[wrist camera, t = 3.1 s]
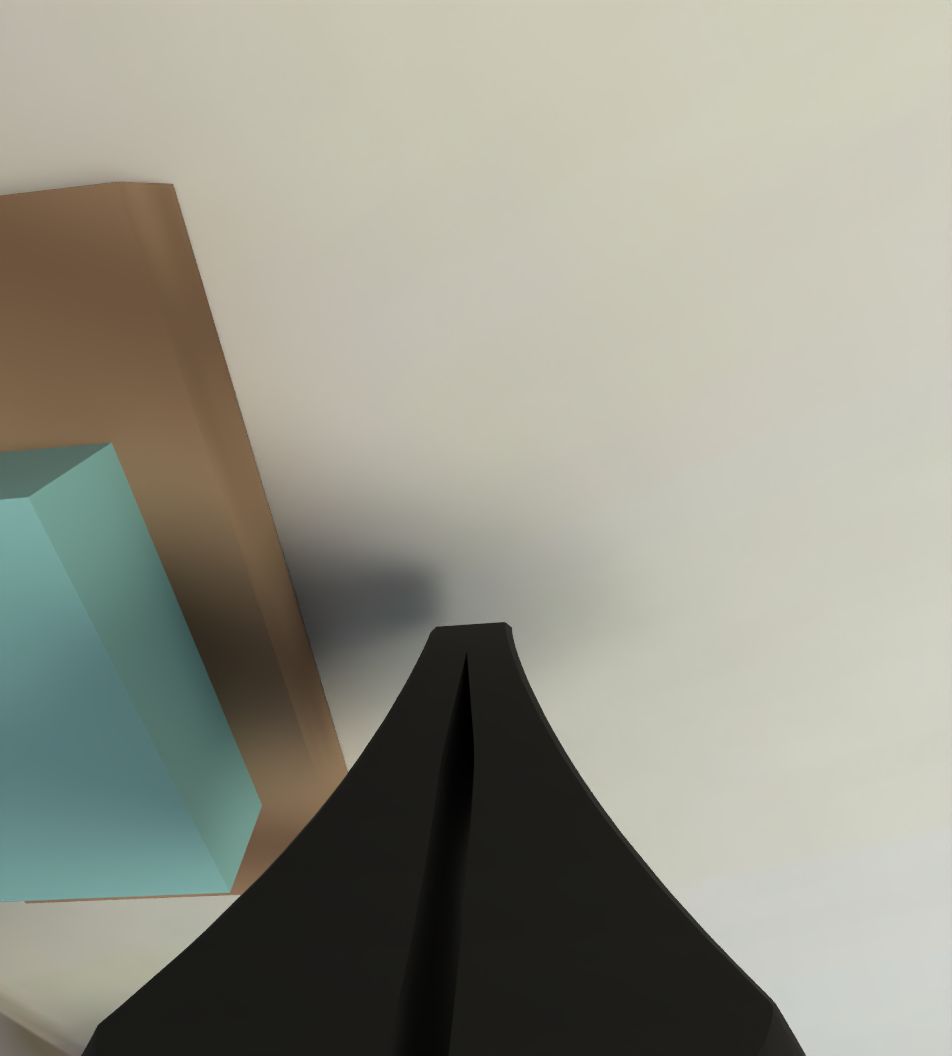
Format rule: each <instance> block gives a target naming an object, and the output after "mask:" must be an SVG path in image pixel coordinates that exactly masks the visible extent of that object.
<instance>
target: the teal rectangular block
mask: <svg viewBox="0 0 952 1056" xmlns="http://www.w3.org/2000/svg"><path fill="white" fill-rule="evenodd" d="M261 807H262V804H261V801H260V799H259V796H258V794H257V792H256V789H255V787H254V784H253V782H252V780H251V777H250V775H249V772H248V770H247V768H246V765H245V763H244V760H243V758H242V756H241V753H240V751H239V748H238V746H237V743H236V741H235V739H234V736H233V734H232V731H231V729H230V727H229V724H228V722H227V719H226V717H225V715H224V712H223V710H222V707H221V705H220V703H219V700H218V698H217V695H216V693H215V690H214V688H213V686H212V683H211V681H210V678H209V676H208V674H207V671H206V669H205V666H204V664H203V662H202V659H201V657H200V654H199V652H198V650H197V647H196V645H195V642H194V640H193V637H192V635H191V633H190V630H189V628H188V625H187V623H186V621H185V618H184V616H183V613H182V611H181V609H180V606H179V604H178V601H177V599H176V597H175V594H174V592H173V589H172V587H171V585H170V582H169V580H168V577H167V575H166V572H165V570H164V568H163V565H162V563H161V560H160V558H159V556H158V553H157V551H156V548H155V546H154V544H153V541H152V539H151V536H150V534H149V532H148V529H147V527H146V524H145V522H144V519H143V517H142V515H141V512H140V510H139V507H138V505H137V503H136V500H135V498H134V495H133V493H132V491H131V488H130V486H129V483H128V481H127V479H126V476H125V474H124V471H123V469H122V466H121V464H120V462H119V459H118V457H117V454H116V452H115V450H114V447H113V445H112V443H101V444H90V445H79V446H68V447H56V448H45V449H34V450H23V451H12V452H1V453H0V902H11V901H36V900H61V899H86V898H111V897H136V896H160V895H185V894H210V893H230V891H231V888H232V886H233V883H234V880H235V878H236V875H237V872H238V870H239V867H240V864H241V861H242V859H243V856H244V853H245V851H246V848H247V845H248V843H249V840H250V837H251V834H252V832H253V829H254V826H255V824H256V821H257V818H258V815H259V813H260V810H261Z"/></svg>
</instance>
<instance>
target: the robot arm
mask: <svg viewBox="0 0 952 1056" xmlns="http://www.w3.org/2000/svg"><path fill="white" fill-rule="evenodd" d="M81 1056H806V1055H805V1053H804V1051H803V1049H802V1048H801V1046H800V1044H799V1042H798V1041H797V1039H796V1037H795V1036H794V1034H793V1032H792V1030H791V1029H790V1027H789V1025H788V1024H787V1022H786V1020H785V1018H784V1017H783V1015H782V1013H781V1012H780V1010H779V1008H778V1007H777V1005H776V1004H775V1003H774V1001H773V1000H772V999H771V998H770V997H769V996H768V995H767V994H766V993H765V992H764V991H763V990H762V989H761V988H760V987H759V986H758V985H757V984H756V983H755V982H754V981H753V980H752V979H751V978H750V977H749V976H748V975H747V974H746V973H745V972H744V971H743V970H742V969H741V968H740V967H739V966H738V965H737V964H736V963H735V962H734V961H733V960H732V959H731V958H730V957H729V955H728V954H727V953H726V952H725V951H724V950H723V949H722V948H721V947H720V946H719V945H718V944H717V943H716V942H715V941H714V940H713V939H712V938H711V937H710V936H709V935H708V934H707V932H706V931H705V930H704V929H703V928H702V927H701V926H700V925H699V924H698V923H697V921H696V920H695V919H694V918H693V917H692V916H691V915H690V914H689V913H688V911H687V910H686V909H685V908H684V907H683V906H682V905H681V904H680V903H679V901H678V900H677V899H676V898H675V897H674V896H673V895H672V894H671V893H670V891H669V890H668V889H667V888H666V887H665V886H664V884H663V883H662V882H661V881H660V879H659V878H658V877H657V876H656V875H655V873H654V872H653V871H652V870H651V868H650V867H649V866H648V865H647V864H646V862H645V861H644V860H643V859H642V858H641V856H640V855H639V854H638V853H637V851H636V850H635V849H634V848H633V847H632V845H631V844H630V843H629V842H628V840H627V839H626V838H625V837H624V836H623V834H622V833H621V832H620V830H619V829H618V828H617V826H616V825H615V824H614V822H613V821H612V820H611V818H610V817H609V816H608V814H607V813H606V811H605V810H604V809H603V807H602V806H601V805H600V803H599V802H598V801H597V799H596V798H595V796H594V795H593V793H592V792H591V790H590V789H589V787H588V786H587V785H586V783H585V782H584V780H583V779H582V777H581V776H580V774H579V773H578V771H577V769H576V768H575V766H574V765H573V763H572V762H571V760H570V758H569V757H568V755H567V753H566V752H565V750H564V748H563V747H562V745H561V743H560V742H559V740H558V738H557V736H556V735H555V733H554V731H553V730H552V728H551V726H550V724H549V722H548V720H547V718H546V717H545V715H544V713H543V711H542V709H541V707H540V705H539V703H538V701H537V699H536V697H535V695H534V692H533V690H532V688H531V686H530V684H529V682H528V679H527V677H526V675H525V672H524V670H523V667H522V665H521V662H520V660H519V657H518V654H517V651H516V647H515V644H514V640H513V635H512V627H511V626H509V625H508V624H507V623H505V622H501V623H486V624H471V625H456V626H441V627H436V628H435V629H434V630H433V631H432V632H431V633H430V635H429V638H428V640H427V642H426V645H425V647H424V649H423V651H422V653H421V655H420V657H419V659H418V661H417V663H416V665H415V667H414V669H413V671H412V673H411V674H410V676H409V678H408V680H407V682H406V684H405V685H404V687H403V689H402V691H401V692H400V694H399V696H398V697H397V699H396V701H395V703H394V704H393V706H392V708H391V709H390V711H389V713H388V714H387V716H386V718H385V719H384V721H383V722H382V724H381V726H380V727H379V729H378V730H377V731H376V733H375V734H374V736H373V737H372V739H371V740H370V742H369V743H368V745H367V746H366V748H365V749H364V751H363V752H362V754H361V755H360V757H359V758H358V760H357V761H356V763H355V764H354V765H353V767H352V768H351V769H350V771H349V772H348V774H347V775H346V776H345V778H344V779H343V780H342V782H341V783H340V784H339V786H338V787H337V788H336V789H335V791H334V792H333V793H332V795H331V796H330V797H329V798H328V800H327V801H326V802H325V803H324V805H323V806H322V807H321V808H320V810H319V811H318V812H317V813H316V814H315V816H314V817H313V818H312V819H311V820H310V821H309V823H308V824H307V825H306V826H305V827H304V828H303V829H302V831H301V832H300V833H299V834H298V835H297V836H296V838H295V839H294V840H293V841H292V842H291V843H290V844H289V846H288V847H287V848H286V849H285V850H284V851H283V852H282V853H281V855H280V856H279V857H278V858H277V859H276V860H275V861H274V862H273V863H272V864H271V865H270V866H269V868H268V869H267V870H266V871H265V872H264V873H263V874H262V875H261V876H260V877H259V878H258V879H257V880H256V881H255V882H254V883H253V884H252V885H251V886H250V887H249V888H248V889H247V890H246V891H245V892H244V893H243V894H242V895H241V896H240V897H239V898H238V899H237V900H236V901H235V902H234V903H233V904H232V905H231V906H230V907H229V908H228V909H227V910H226V911H225V912H224V913H223V914H222V915H221V916H220V917H219V918H218V919H217V920H216V921H215V922H214V923H213V924H212V925H211V926H210V927H209V928H208V929H207V930H206V931H204V932H203V933H202V934H201V935H200V936H199V937H198V938H197V939H196V940H195V941H194V942H193V943H192V944H190V945H189V946H188V947H187V948H186V949H185V950H184V951H183V952H182V953H180V954H179V955H178V956H177V957H176V958H175V959H174V960H172V961H171V962H170V963H169V964H168V965H167V966H166V967H164V968H163V969H162V970H161V971H160V972H159V973H158V974H157V975H155V976H154V977H153V978H152V979H151V980H150V981H149V982H147V983H146V984H145V985H144V986H143V987H142V988H141V989H139V990H138V991H137V992H136V993H135V994H134V995H133V996H131V997H130V998H129V999H128V1000H127V1001H126V1002H125V1003H123V1004H122V1005H121V1006H120V1007H119V1008H118V1009H116V1010H115V1011H114V1012H113V1013H112V1014H111V1015H109V1016H108V1017H107V1018H106V1019H105V1020H103V1021H102V1022H101V1023H100V1024H99V1025H98V1026H97V1028H96V1030H95V1032H94V1034H93V1036H92V1038H91V1040H90V1041H89V1043H88V1045H87V1047H86V1048H85V1050H84V1052H83V1054H82V1055H81Z"/></svg>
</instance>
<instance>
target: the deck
mask: <svg viewBox="0 0 952 1056" xmlns="http://www.w3.org/2000/svg"><path fill="white" fill-rule="evenodd" d="M101 443H112V445H113V447H114V450H115V452H116V454H117V457H118V459H119V462H120V464H121V466H122V469H123V471H124V474H125V476H126V479H127V481H128V483H129V486H130V488H131V491H132V493H133V495H134V498H135V500H136V503H137V505H138V507H139V510H140V512H141V515H142V517H143V519H144V522H145V524H146V527H147V529H148V532H149V534H150V536H151V539H152V541H153V544H154V546H155V548H156V551H157V553H158V556H159V558H160V560H161V563H162V565H163V568H164V570H165V572H166V575H167V577H168V580H169V582H170V585H171V587H172V589H173V592H174V594H175V597H176V599H177V601H178V604H179V606H180V609H181V611H182V613H183V616H184V618H185V621H186V623H187V625H188V628H189V630H190V633H191V635H192V637H193V640H194V642H195V645H196V647H197V650H198V652H199V654H200V657H201V659H202V662H203V664H204V666H205V669H206V671H207V674H208V676H209V678H210V681H211V683H212V686H213V688H214V690H215V693H216V695H217V698H218V700H219V703H220V705H221V707H222V710H223V712H224V715H225V717H226V719H227V722H228V724H229V727H230V729H231V731H232V734H233V736H234V739H235V741H236V743H237V746H238V748H239V751H240V753H241V756H242V758H243V760H244V763H245V765H246V768H247V770H248V772H249V775H250V777H251V780H252V782H253V784H254V787H255V789H256V792H257V794H258V796H259V799H260V801H261V804H262V807H261V810H260V813H259V815H258V818H257V821H256V824H255V826H254V829H253V832H252V834H251V837H250V840H249V843H248V845H247V848H246V851H245V853H244V856H243V859H242V861H241V864H240V867H239V870H238V872H237V875H236V878H235V880H234V883H233V886H232V888H231V891H230V893H210V894H185V895H160V896H136V897H111V898H86V899H61V900H36V901H25V903H44V902H69V901H94V900H119V899H143V898H168V897H193V896H218V895H242V894H243V893H244V892H245V891H246V890H247V889H248V888H249V887H250V886H251V885H252V884H253V883H254V882H255V881H256V880H257V879H258V878H259V877H260V876H261V875H262V874H263V873H264V872H265V871H266V870H267V869H268V868H269V866H270V865H271V864H272V863H273V862H274V861H275V860H276V859H277V858H278V857H279V856H280V855H281V853H282V852H283V851H284V850H285V849H286V848H287V847H288V846H289V844H290V843H291V842H292V841H293V840H294V839H295V838H296V836H297V835H298V834H299V833H300V832H301V831H302V829H303V828H304V827H305V826H306V825H307V824H308V823H309V821H310V820H311V819H312V818H313V817H314V816H315V814H316V813H317V812H318V811H319V810H320V808H321V807H322V806H323V805H324V803H325V802H326V801H327V800H328V798H329V797H330V796H331V795H332V793H333V792H334V791H335V789H336V788H337V787H338V786H339V784H340V783H341V782H342V780H343V779H344V778H345V776H346V775H347V774H348V772H347V768H346V765H345V761H344V758H343V755H342V751H341V748H340V745H339V741H338V738H337V734H336V731H335V728H334V724H333V721H332V718H331V714H330V711H329V708H328V704H327V701H326V697H325V694H324V691H323V687H322V684H321V681H320V677H319V674H318V671H317V667H316V664H315V660H314V657H313V654H312V650H311V647H310V644H309V640H308V637H307V633H306V630H305V627H304V623H303V620H302V617H301V613H300V610H299V607H298V603H297V600H296V596H295V593H294V590H293V586H292V583H291V580H290V576H289V573H288V570H287V566H286V563H285V559H284V556H283V553H282V549H281V546H280V543H279V539H278V536H277V532H276V529H275V526H274V522H273V519H272V516H271V512H270V509H269V506H268V502H267V499H266V495H265V492H264V489H263V485H262V482H261V479H260V475H259V472H258V469H257V465H256V462H255V458H254V455H253V452H252V448H251V445H250V442H249V438H248V435H247V431H246V428H245V425H244V421H243V418H242V415H241V411H240V408H239V405H238V401H237V398H236V394H235V391H234V388H233V384H232V381H231V378H230V374H229V371H228V368H227V364H226V361H225V357H224V354H223V351H222V347H221V344H220V341H219V337H218V334H217V331H216V327H215V324H214V320H213V317H212V314H211V310H210V307H209V304H208V300H207V297H206V293H205V290H204V287H203V283H202V280H201V277H200V273H199V270H198V267H197V263H196V260H195V256H194V253H193V250H192V246H191V243H190V240H189V236H188V233H187V230H186V226H185V223H184V219H183V216H182V213H181V209H180V206H179V203H178V199H177V196H176V192H175V189H174V186H173V184H160V183H133V182H112V183H103V184H95V185H86V186H78V187H69V188H61V189H52V190H44V191H35V192H27V193H18V194H10V195H2V196H0V453H1V452H12V451H23V450H34V449H45V448H56V447H68V446H79V445H90V444H101Z"/></svg>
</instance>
